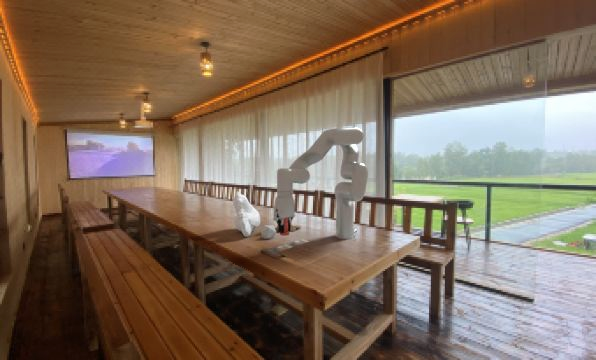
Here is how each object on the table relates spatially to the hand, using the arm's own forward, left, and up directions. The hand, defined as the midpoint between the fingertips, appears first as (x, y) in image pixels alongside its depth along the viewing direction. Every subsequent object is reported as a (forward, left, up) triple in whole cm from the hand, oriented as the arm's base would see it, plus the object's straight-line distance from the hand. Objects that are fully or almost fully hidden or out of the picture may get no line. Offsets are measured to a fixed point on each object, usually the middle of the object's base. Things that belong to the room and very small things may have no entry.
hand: (284, 231), depth 129 cm
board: (-3, 0, -9) cm, 10 cm away
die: (-5, -18, -9) cm, 21 cm away
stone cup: (-22, -22, -9) cm, 33 cm away
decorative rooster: (-3, -38, -9) cm, 39 cm away
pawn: (0, 0, -1) cm, 1 cm away
